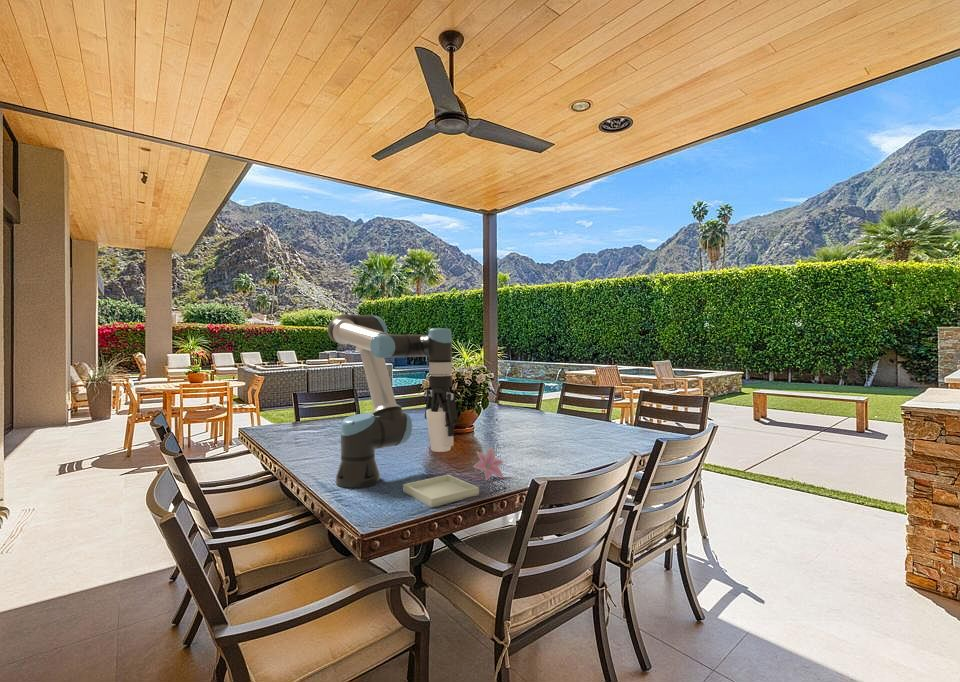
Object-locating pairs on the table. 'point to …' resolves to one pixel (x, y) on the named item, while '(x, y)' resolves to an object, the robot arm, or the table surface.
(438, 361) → the robot arm
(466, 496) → the tray
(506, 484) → the table surface
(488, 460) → the lily
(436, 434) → the foam cup
